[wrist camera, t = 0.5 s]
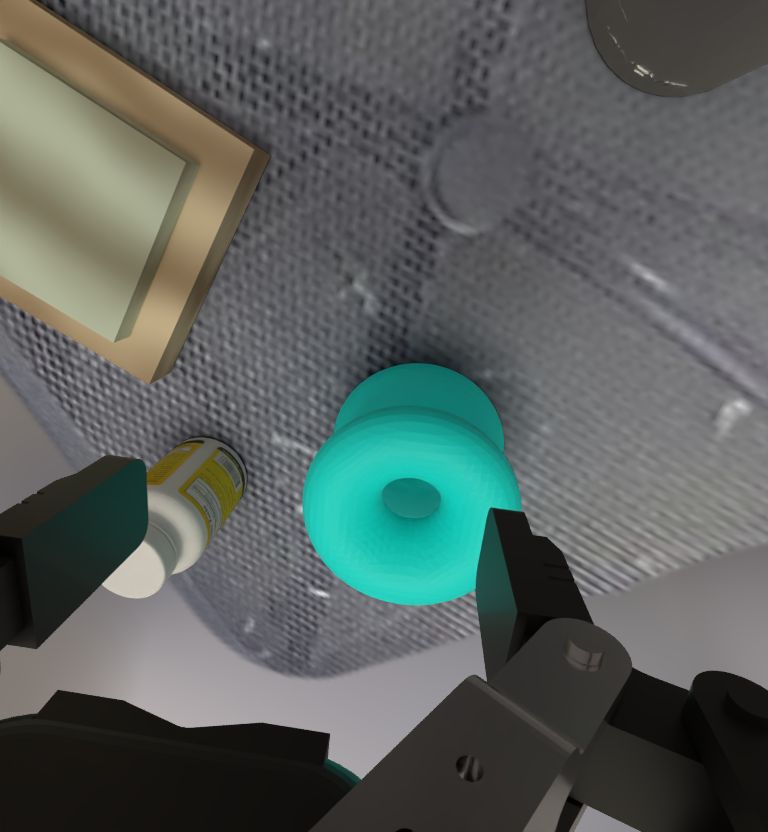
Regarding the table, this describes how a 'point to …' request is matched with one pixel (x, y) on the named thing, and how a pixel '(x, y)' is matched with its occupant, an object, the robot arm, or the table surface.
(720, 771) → the robot arm
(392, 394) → the donuts
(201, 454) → the supplement bottle
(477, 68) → the table surface
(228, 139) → the stacking base
